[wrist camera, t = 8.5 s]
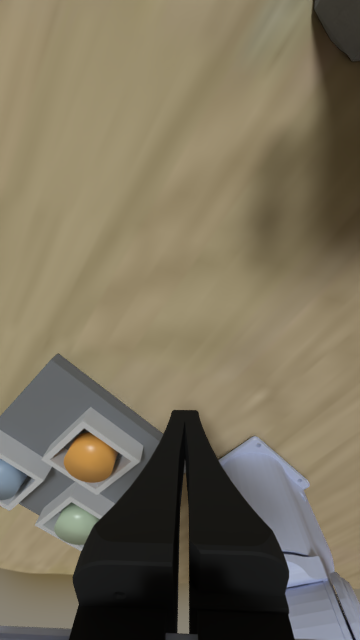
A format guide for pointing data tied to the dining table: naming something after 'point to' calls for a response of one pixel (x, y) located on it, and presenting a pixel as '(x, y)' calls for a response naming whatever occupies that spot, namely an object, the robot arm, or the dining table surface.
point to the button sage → (74, 524)
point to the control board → (57, 436)
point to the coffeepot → (341, 24)
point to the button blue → (9, 480)
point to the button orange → (90, 458)
